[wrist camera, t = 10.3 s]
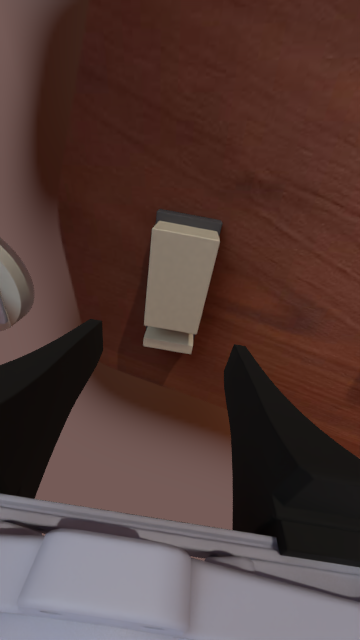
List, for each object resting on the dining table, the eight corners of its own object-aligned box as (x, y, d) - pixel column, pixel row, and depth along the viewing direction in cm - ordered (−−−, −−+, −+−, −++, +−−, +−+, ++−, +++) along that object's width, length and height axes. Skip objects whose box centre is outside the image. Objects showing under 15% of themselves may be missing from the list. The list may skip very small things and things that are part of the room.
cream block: (193, 333, 23) (192, 360, 20) (148, 325, 23) (139, 351, 20) (221, 220, 17) (226, 231, 14) (159, 208, 17) (149, 216, 14)
